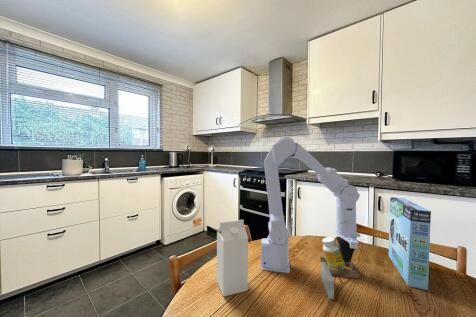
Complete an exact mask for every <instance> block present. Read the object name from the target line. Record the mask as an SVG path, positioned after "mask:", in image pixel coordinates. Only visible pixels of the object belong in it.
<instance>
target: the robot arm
mask: <svg viewBox="0 0 476 317" xmlns="http://www.w3.org/2000/svg"><path fill="white" fill-rule="evenodd" d="M289 157H290V158H293V159H297V160H300V161H301V162H302V163H304V164H305V166H307V167H308V168H310V170H312V171H313V172H314V173H315V174H316V175H317V180H318V182H320V183H321V184H322V185H323V186H325V187H326V188H327V189H328V190H329V191H330V192H332V193H333V196H334V197H336V231H335V234H336V236H335V240H336V241H337V244H338V245H339V247H340V250H341V253H342V257H343V260H344V261H345V262H351V261H352V259H353V254H354V252H355V250H356V249H357V250H359V242H358V238H360V237H361V234H360V233H359V232H357V202H358V201H359V199H360V196H361V195H360V193H359V192H358V189H357V187H356V186H354V185H351V184H349V180H348V179H345V178H344V177H342V176H341V175H340V174H338V170H337V169H336V168H332V167H324V165H323V164H321V163H320V161H318V160H317V158H315V157H314V156H313V155H312V153H310V152H309V151H307V149H305V148H304V146H302V145H301V144H299V143H298V142H295V140H294V139H292V138H291V137H289V136H284V137H281V138H279V139H278V140H277V141H276V142H275V143H274V144H273V145H272V146H271V148H270V149H269V151H268V153H267V155H266V157H265V159H264V160H263V168H264V174H265V184H266V193H267V201H268V212H269V220H268V224H267V225H268V226H267V227H268V231H269V234H268V236H267V238H266V237H265V238H261V242H260V243H261V244H260V258H259V259H260V270H261V271H262V270H263V271H270V272H278V273H284V274H290V273H291V269H290V267H291V266H290V260H289V239H290V238H289V237H290V232H289V230H288V228H287V226H286V222H285V219H284V218H285V217H284V216H285V215H284V211H283V202H282V201H283V200H282V193H281V184H280V175H279V168H278V167H279V166H280V164H282V163H283V162H284V160H285V159H287V158H289Z"/></svg>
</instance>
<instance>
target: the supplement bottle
mask: <svg viewBox="0 0 476 317" xmlns="http://www.w3.org/2000/svg"><path fill="white" fill-rule="evenodd" d="M336 241H337V240H336V238H334V236H333V237H332V236H327V237H324V238H322V240H321V242H322V243H323V244H322V245H323V246H322V251H323V255H324V257H326V260H327V263H326V264H327V266H328V268H335V269H344V270H345V268H346V265H345V263H344V260H343V257H342V253H341V250H340V246H339V243H337V242H336Z"/></svg>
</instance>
